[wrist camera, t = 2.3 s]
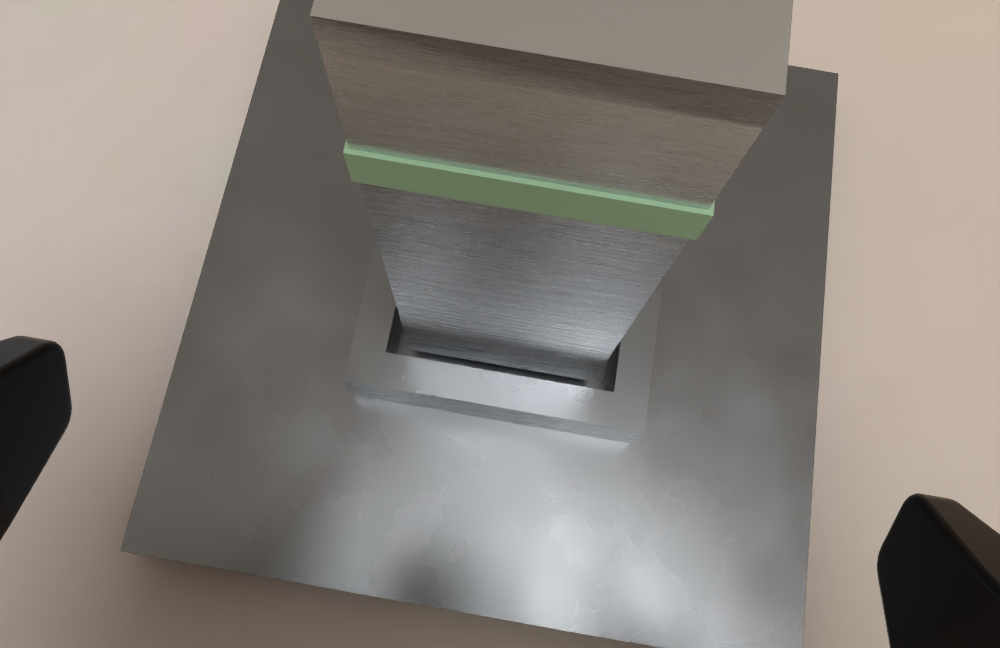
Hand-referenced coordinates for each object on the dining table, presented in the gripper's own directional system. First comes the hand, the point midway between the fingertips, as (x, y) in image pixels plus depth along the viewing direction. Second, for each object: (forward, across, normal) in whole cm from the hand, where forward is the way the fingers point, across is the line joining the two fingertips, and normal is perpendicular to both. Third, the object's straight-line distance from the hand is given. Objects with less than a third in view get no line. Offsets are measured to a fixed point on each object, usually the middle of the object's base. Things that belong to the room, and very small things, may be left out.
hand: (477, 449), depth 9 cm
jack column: (+12, 0, +4) cm, 12 cm away
